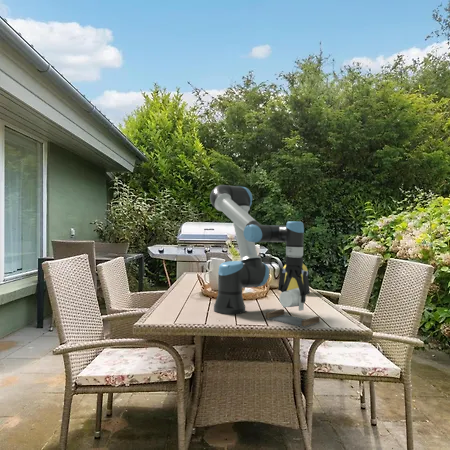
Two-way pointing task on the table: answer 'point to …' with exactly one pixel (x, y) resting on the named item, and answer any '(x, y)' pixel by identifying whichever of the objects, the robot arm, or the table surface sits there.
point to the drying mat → (290, 320)
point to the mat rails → (304, 322)
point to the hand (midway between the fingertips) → (293, 308)
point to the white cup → (290, 298)
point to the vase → (293, 282)
